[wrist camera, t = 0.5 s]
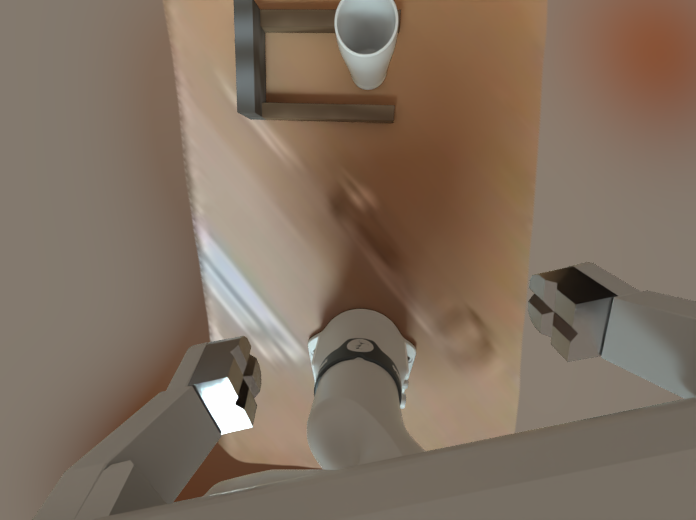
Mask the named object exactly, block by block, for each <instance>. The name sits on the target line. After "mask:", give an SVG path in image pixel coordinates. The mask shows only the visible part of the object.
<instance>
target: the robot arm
mask: <svg viewBox="0 0 696 520" xmlns="http://www.w3.org/2000/svg"><path fill="white" fill-rule="evenodd" d="M529 288H530V289H531V291H533V293H534V295H533V296H532V297H531V298H530V300H529V301H528V312H529V316H530V318H531V321H532V323H533V325H534V326H535V328H536V329H537V330H538V331H539V332H540V333H541V334H543V335H546V336H549V337H551V345H552V346H553V347H554V348H555V349H556V350H557V351H558V353H559V354H560V355H561V356H562V357H563V358H564V359H565V360H566V361H567V362H570V361H575V360H581V359H587V358H593V357H598V356H601V358H603V359H605V360H607V361H609V362H611V363H613V364H616V365H617V366H619V367H621V368H623V369H625V370H627V371H630V372H632V373H634V374H636V375H638V376H640V377H642V378H644V379H646V380H648V381H650V382H652V383H654V384H656V385H658V386H660V387H662V388H664V389H666V390H668V391H670V392H672V393H674V394H677V395H679V396H681V397H682V398H684V399H682V400H677V401H672V402H667V403H662V404H657V405H652V406H648V407H643V408H638V409H633V410H628V411H623V412H618V413H613V414H608V415H603V416H599V417H593V418H589V419H583V420H578V421H573V422H569V423H564V424H559V425H554V426H549V427H544V428H539V429H534V430H529V431H524V432H519V433H514V434H509V435H504V436H499V437H495V438H490V439H485V440H480V441H475V442H470V443H465V444H460V445H455V446H450V447H445V448H440V449H435V450H430V451H425V450H424V449H423V448H422V447H421V446H420V445H419V444H418V443H417V442H416V441H415V440H414V439H413V438H412V436H411V435H410V434H409V433H408V431H407V430H406V428H405V425H404V422H403V418H402V413H401V409H400V408H402V409H403V408H404V407H405V403H406V395H405V394H404V390H405V389H407V387H408V378H409V375H410V371H411V368H412V365H413V362H414V359H415V356H416V348H415V346H414V345H413V344H412V343H410V342H409V341H408V340H406V339H405V338H403V336H402V335H401V334H400V332H399V330H398V329H397V327H396V326H395V325H394V323H393V322H392V321H391V320H390V319H388V318H387V317H386V316H384V315H382V314H380V313H378V312H376V311H373V310H368V309H353V310H348V311H345V312H343V313H341V314H339V315H337V316H336V317H335V318H333V319H332V320H331V321H330V322H329V323H328V325H327V326H326V327H325V329H324V330H323V331H322V332H320V333H318V334H316V335H315V336H313V337H312V338H310V340H309V342H308V350H309V355H310V360H311V366H312V370H313V375H314V380H315V387H314V400H313V404H312V407H311V411H310V414H309V418H308V422H307V439H308V444H309V447H310V449H311V451H312V453H313V455H314V457H315V458H316V460H317V461H318V463H319V464H320V466H321V467H322V468H323V470H267V471H263V472H258V473H254V474H249V475H245V476H241V477H237V478H233V479H229V480H226V481H222V482H219V483H217V484H216V485H215V486H213V487H212V488H211V489H210V490H209V491H208V492H207V493H206V494H205V495H204V496H203V497H199V498H194V499H189V500H184V501H179V502H174V500H175V499H176V498H177V496H178V495H179V493H180V492H181V491H182V489H183V488H184V487H185V485H186V484H187V482H188V481H189V480H190V478H191V477H192V476H193V474H194V473H195V471H196V470H197V469H198V467H199V466H200V465H201V463H202V462H203V461H204V459H205V458H206V456H207V455H208V454H209V452H210V451H211V450H212V448H213V447H214V446H215V444H216V443H217V442H218V440H219V439H220V437H221V434H225V433H229V432H233V431H237V430H242V429H246V428H250V427H253V423H254V418H255V413H256V408H257V404H256V402H255V399H254V398H255V397H256V396H257V394H258V393H259V392H260V388H261V370H260V366H259V363H258V361H257V358H255V357H253V356H252V355H250V350H251V345H250V343H249V341H248V339H247V338H246V337H245V336H240V337H235V338H229V339H224V340H219V341H214V342H210V343H204V344H199V345H194V346H192V347H190V348H189V349H188V350H187V352H186V354H185V356H184V358H183V360H182V362H181V364H180V366H179V367H178V369H177V371H176V373H175V375H174V377H173V379H172V381H171V383H170V385H169V386H168V388H167V391H164V392H160V393H159V394H158V395H156V396H155V397H154V398H153V399H152V400H151V401H150V402H148V403H147V404H146V405H144V406H143V407H142V408H141V409H140V410H138V411H137V412H136V413H135V414H134V415H132V416H131V417H130V418H129V419H128V420H126V422H124V423H123V424H122V425H120V426H119V427H118V428H117V429H116V430H115V431H114V432H112V433H111V434H110V435H109V436H107V437H106V438H105V439H104V440H103V441H101V442H100V443H99V444H98V445H97V446H95V447H94V448H93V449H92V450H91V451H89V452H88V453H87V454H86V455H85V456H84V457H82V458H81V459H80V460H79V461H77V462H76V463H75V464H74V465H73V466H71V467H70V468H69V469H68V470H67V471H65V472H64V474H63V475H62V477H61V478H60V480H59V481H58V483H57V484H56V486H55V487H54V489H53V490H52V492H51V493H50V495H49V496H48V497H47V499H46V500H45V502H44V503H43V505H42V506H41V508H40V509H39V511H38V512H37V514H36V515H35V517H34V518H33V519H32V520H696V301H691V300H688V299H683V298H679V297H674V296H670V295H665V294H661V293H656V292H652V291H648V290H647V291H642V292H641V291H639V290H637V289H636V288H634V287H632V286H631V285H629V284H627V283H626V282H624V281H622V280H621V279H619V278H617V277H616V276H614V275H612V274H611V273H609V272H607V271H606V270H604V269H602V268H601V267H599V266H597V265H596V264H594V263H590V262H585V263H581V264H577V265H573V266H569V267H567V268H562V269H558V270H554V271H549V272H545V273H540V274H535V275H532V277H531V279H530V284H529ZM314 349H315V351H314ZM407 356H409V358H408V357H407ZM173 502H174V503H173Z"/></svg>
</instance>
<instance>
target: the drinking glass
mask: <svg viewBox="0 0 696 520" xmlns="http://www.w3.org/2000/svg"><path fill="white" fill-rule="evenodd" d="M398 20H399V18H398V10H397V7H396V4H395V2H394V0H341V1H340V3H339V5H338V7H337V10H336V13H335V20H334V26H335V33H336V39H337V43H338V47H339V50H340V53H341V55H342V57H343V59H344V61H345V63H346V65H347V67H348V69H349V71H350V74H351V77H352V80H353V81H354V83H355V84H356V85H357V86H358V87H360V88H362V89H365V90H372V89H375V88H377V87H378V86H380V85H381V84H382V82H383V81H384V79H385V77H386V74H387V69H388V66H389V63H390V61H391V58H392V55H393V52H394V49H395V46H396V41H397V35H398Z"/></svg>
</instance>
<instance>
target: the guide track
mask: <svg viewBox="0 0 696 520" xmlns="http://www.w3.org/2000/svg"><path fill="white" fill-rule="evenodd" d="M335 13H336V10H260V9H259V7H258V6H257V4H256V3H255V1H254V0H234V24H235V54H236V83H237V112H238V113H240V114H242V115H244V116H245V117H247V118H249V119H257V120H297V121H337V122H376V123H393V121H394V108H395V105H354V104H307V103H266V65H265V32H285V33H335V26H334V20H335ZM400 15H401V10H398V18H399V20H398V33H399V28H400Z"/></svg>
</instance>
